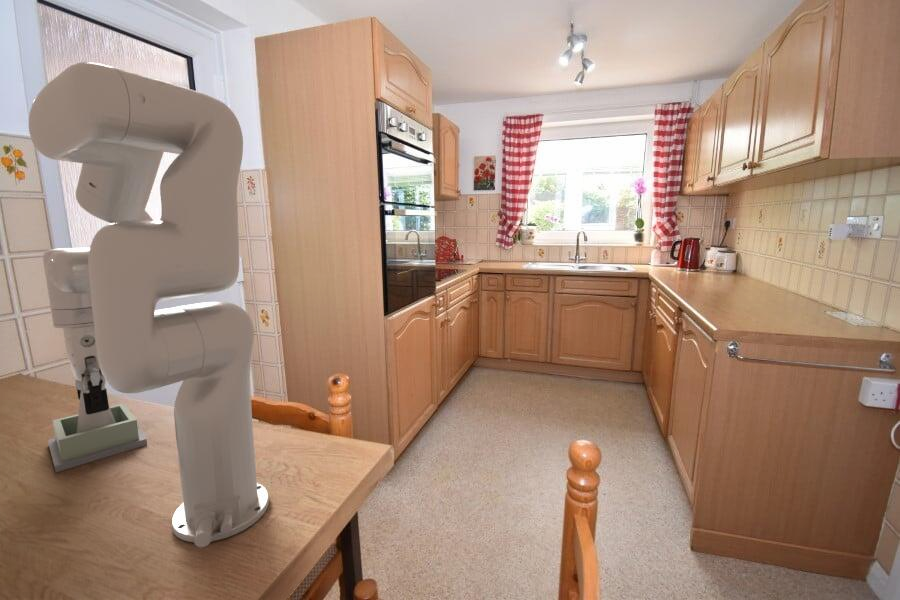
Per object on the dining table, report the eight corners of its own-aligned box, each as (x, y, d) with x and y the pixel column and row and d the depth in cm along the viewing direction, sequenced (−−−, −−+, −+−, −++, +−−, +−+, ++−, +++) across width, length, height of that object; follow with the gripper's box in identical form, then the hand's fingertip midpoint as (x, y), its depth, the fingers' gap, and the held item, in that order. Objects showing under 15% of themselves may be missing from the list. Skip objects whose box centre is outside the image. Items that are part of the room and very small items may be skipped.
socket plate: (147, 444, 81) (144, 419, 80) (55, 472, 71) (51, 444, 71) (132, 423, 90) (129, 400, 89) (48, 445, 80) (44, 420, 79)
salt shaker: (95, 449, 77) (85, 381, 75) (70, 445, 78) (59, 379, 76) (125, 434, 82) (117, 371, 80) (101, 431, 84) (92, 369, 81)
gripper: (115, 319, 73) (127, 411, 76) (98, 307, 85) (109, 387, 87) (57, 326, 68) (72, 425, 70) (48, 312, 79) (61, 398, 82)
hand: (93, 404), depth 79 cm, fingers open, 9 cm apart
